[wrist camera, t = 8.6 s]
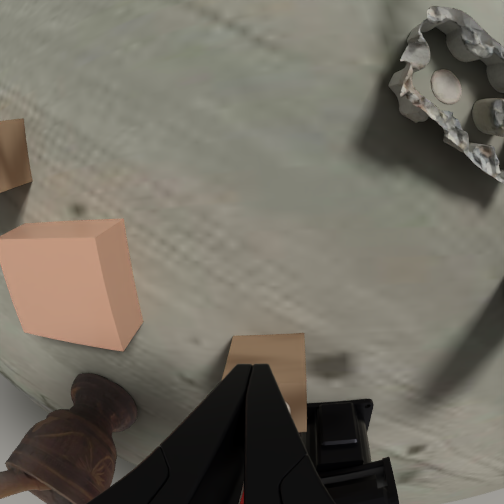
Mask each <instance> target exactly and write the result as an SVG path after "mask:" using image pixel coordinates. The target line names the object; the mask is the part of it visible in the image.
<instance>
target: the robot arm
mask: <svg viewBox="0 0 504 504" xmlns="http://www.w3.org/2000/svg"><path fill="white" fill-rule="evenodd" d="M372 410H373V401H372V400H371V399H363V400H353V401H341V402H328V403H312V404H307V432H298V430H297V428H296V425H295V423H294V421H293V419H292V416H291V414H290V412H289V410H288V407H287V405H286V403H285V400H284V398H283V396H282V394H281V391H280V389H279V387H278V384H277V382H276V380H275V377H274V375H273V373H272V370H271V368H270V366H269V364H267V363H264V364H254V365H252V364H237V365H235V367H234V368H233V369H232V370H231V371H230V372H229V373H228V374H227V375H226V376H225V377H224V379H223V380H222V381H221V382H220V383H219V384H218V385H217V386H216V387H215V388H214V389H213V390H212V392H211V393H210V394H209V395H208V396H207V397H206V398H205V399H204V400H203V401H202V402H201V403H200V404H199V405H198V406H197V407H196V409H195V410H194V411H193V412H192V413H191V414H190V415H189V416H188V417H187V418H186V419H185V420H184V421H183V422H182V423H181V424H180V425H179V426H178V427H177V428H176V429H175V430H174V431H173V432H172V433H171V434H170V435H169V436H168V437H167V438H166V439H165V440H164V441H163V442H162V443H161V444H160V446H161V447H159V446H158V447H157V448H156V449H155V450H154V451H153V452H152V453H151V454H150V455H149V456H148V457H147V458H146V459H144V460H143V461H142V462H141V463H140V464H139V465H138V466H137V467H136V468H134V469H133V470H132V471H131V472H129V473H128V474H127V475H126V476H124V477H123V478H122V479H120V480H119V481H118V482H116V483H115V484H113V485H112V486H111V487H109V488H108V489H106V490H105V491H104V492H102V493H101V494H99V495H98V496H96V497H95V498H93V499H92V500H90V501H89V502H88V503H86V504H238V503H239V499H240V495H241V491H242V486H243V482H244V504H399V499H398V494H397V489H396V484H395V480H394V475H393V471H392V467H391V462H390V458H389V457H386V458H383V459H382V460H379V461H375V462H371V456H370V449H369V443H368V437H367V430H368V426H369V422H370V418H371V414H372Z"/></svg>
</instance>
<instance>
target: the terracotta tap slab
mask: <svg viewBox="0 0 504 504" xmlns="http://www.w3.org/2000/svg"><path fill="white" fill-rule="evenodd" d="M0 264H1V267H2V271H3V274H4V277H5V280H6V283H7V287H8V290H9V293H10V296H11V298H12V301H13V304H14V307H15V310H16V312H17V315H18V318H19V320H20V323H21V325H22V328H23V330H24V332H25V333H30V334H34V335H38V336H43V337H47V338H52V339H56V340H61V341H66V342H71V343H76V344H81V345H87V346H92V347H98V348H104V349H110V350H117V351H124V350H125V348H126V347H127V345H128V344H129V342H130V341H131V339H132V338H133V336H134V335H135V333H136V332H137V330H138V329H139V327H140V326H141V324H142V323H143V318H142V314H141V310H140V305H139V301H138V296H137V291H136V286H135V282H134V276H133V271H132V266H131V261H130V255H129V249H128V243H127V237H126V231H125V224H124V219H102V220H80V221H60V222H42V223H26V224H23V225H21V226H19V227H17V228H15V229H13V230H11V231H9V232H7V233H5V234H3V235H1V236H0Z"/></svg>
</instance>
